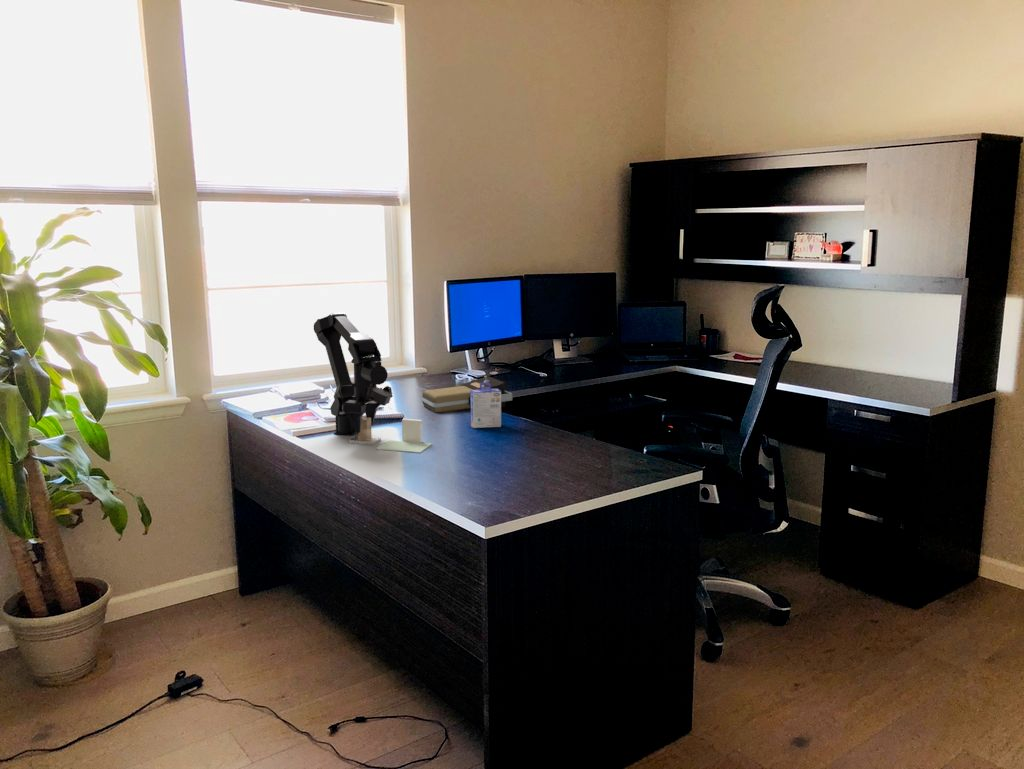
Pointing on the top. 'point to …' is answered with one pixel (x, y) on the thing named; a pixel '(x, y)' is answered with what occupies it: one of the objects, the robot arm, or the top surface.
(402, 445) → the mat
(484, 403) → the ink cartridge box
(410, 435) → the tile
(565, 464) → the top surface
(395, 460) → the top surface
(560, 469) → the top surface
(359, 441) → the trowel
